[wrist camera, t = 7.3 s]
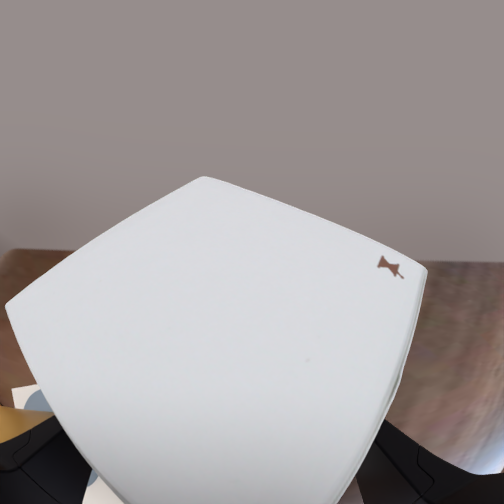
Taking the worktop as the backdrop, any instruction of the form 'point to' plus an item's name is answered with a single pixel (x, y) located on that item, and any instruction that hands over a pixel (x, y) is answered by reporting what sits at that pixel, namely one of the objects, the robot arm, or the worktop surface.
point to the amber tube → (19, 421)
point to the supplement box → (222, 348)
